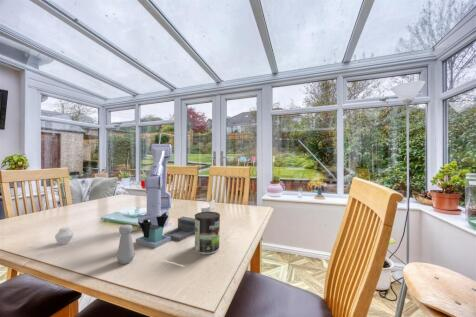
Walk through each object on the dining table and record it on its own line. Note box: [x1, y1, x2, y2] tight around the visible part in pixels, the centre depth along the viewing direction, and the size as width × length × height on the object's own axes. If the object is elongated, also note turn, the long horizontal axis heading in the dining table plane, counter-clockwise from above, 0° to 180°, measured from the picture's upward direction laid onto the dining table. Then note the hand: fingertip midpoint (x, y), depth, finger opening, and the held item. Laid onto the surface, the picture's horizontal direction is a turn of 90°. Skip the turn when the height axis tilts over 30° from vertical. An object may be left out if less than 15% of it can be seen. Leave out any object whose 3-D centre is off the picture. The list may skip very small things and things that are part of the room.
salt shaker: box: [116, 224, 136, 265], centre depth 75 cm, size 6×6×13 cm
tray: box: [135, 234, 172, 249], centre depth 91 cm, size 12×9×2 cm
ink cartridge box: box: [200, 198, 216, 212], centre depth 109 cm, size 9×5×15 cm, turn 168°
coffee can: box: [194, 211, 221, 255], centre depth 86 cm, size 10×10×14 cm
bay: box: [163, 216, 195, 242], centre depth 100 cm, size 12×15×6 cm
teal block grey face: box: [144, 224, 164, 243], centre depth 91 cm, size 4×7×6 cm, turn 64°
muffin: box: [54, 226, 74, 246], centre depth 89 cm, size 6×6×7 cm
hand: (153, 234), depth 91 cm, fingers open, 7 cm apart
